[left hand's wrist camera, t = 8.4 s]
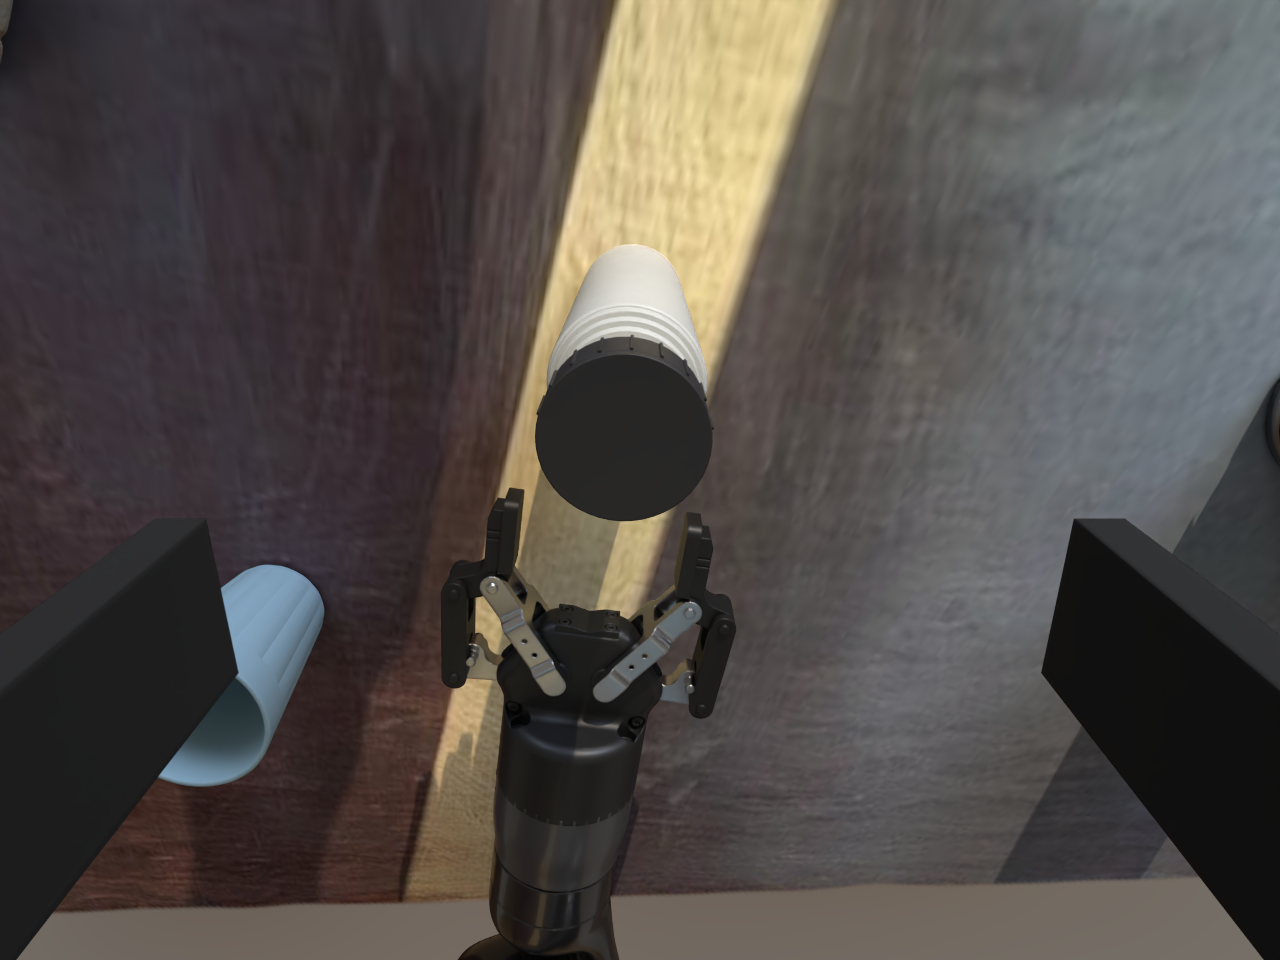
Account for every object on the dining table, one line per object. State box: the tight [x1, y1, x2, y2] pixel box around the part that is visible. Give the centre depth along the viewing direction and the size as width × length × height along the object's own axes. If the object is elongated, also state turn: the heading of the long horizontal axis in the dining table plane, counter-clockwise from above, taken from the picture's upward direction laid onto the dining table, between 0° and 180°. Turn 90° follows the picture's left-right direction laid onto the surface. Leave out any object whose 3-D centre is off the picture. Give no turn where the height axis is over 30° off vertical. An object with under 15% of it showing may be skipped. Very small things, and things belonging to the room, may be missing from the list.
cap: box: [535, 335, 714, 521], centre depth 21 cm, size 4×4×2 cm
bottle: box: [547, 244, 707, 395], centre depth 31 cm, size 5×5×22 cm
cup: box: [158, 565, 324, 787], centre depth 43 cm, size 8×8×10 cm
